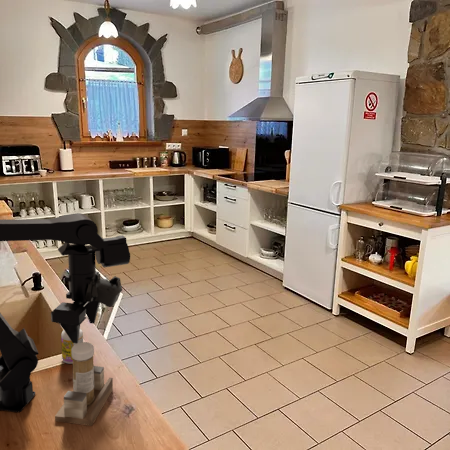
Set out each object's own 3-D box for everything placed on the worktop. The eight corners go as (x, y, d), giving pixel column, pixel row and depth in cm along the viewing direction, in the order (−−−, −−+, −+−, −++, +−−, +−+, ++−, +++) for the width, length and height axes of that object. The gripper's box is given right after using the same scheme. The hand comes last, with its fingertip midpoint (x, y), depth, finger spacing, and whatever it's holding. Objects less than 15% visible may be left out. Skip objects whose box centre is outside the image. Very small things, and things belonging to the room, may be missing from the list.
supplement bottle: (58, 358, 110) (56, 323, 108) (76, 350, 114) (75, 316, 112) (69, 367, 107) (67, 331, 104) (87, 359, 111) (86, 323, 108)
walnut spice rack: (55, 420, 89) (53, 396, 87) (80, 385, 100) (79, 363, 99) (91, 425, 88) (91, 401, 87) (112, 389, 100) (112, 367, 98)
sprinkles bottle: (76, 394, 96) (74, 341, 92) (96, 393, 96) (95, 341, 93) (71, 407, 91) (68, 352, 88) (92, 407, 92) (91, 352, 88)
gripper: (100, 290, 85) (101, 358, 89) (130, 259, 103) (130, 317, 107) (47, 285, 86) (51, 352, 90) (86, 255, 104) (88, 313, 108)
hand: (84, 332), depth 99 cm, fingers open, 9 cm apart
